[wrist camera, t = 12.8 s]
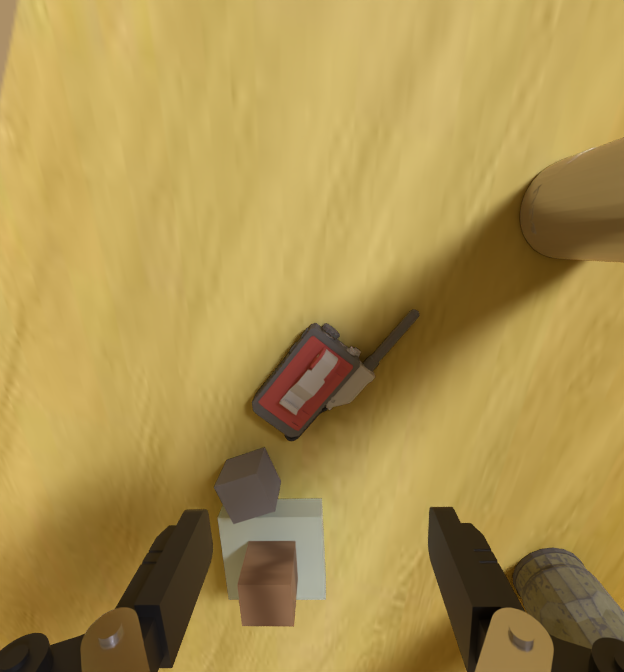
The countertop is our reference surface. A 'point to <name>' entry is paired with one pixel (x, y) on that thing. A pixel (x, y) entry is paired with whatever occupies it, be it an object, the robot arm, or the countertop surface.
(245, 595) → the walnut cube
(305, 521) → the pedestal
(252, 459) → the charcoal block
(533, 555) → the thermos
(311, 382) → the walkie-talkie
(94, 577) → the countertop surface
